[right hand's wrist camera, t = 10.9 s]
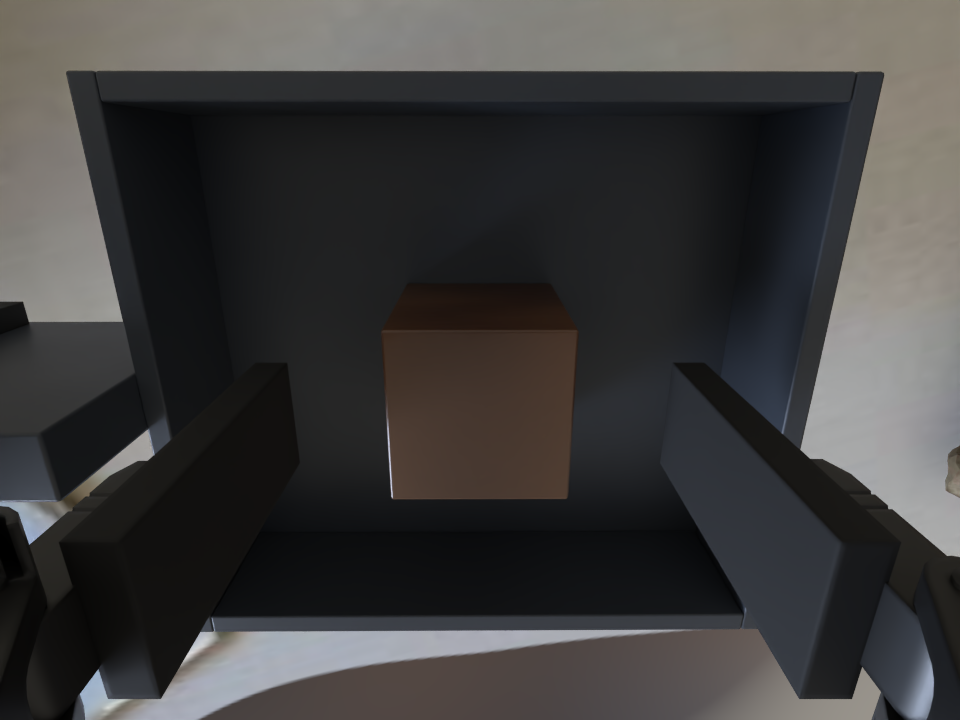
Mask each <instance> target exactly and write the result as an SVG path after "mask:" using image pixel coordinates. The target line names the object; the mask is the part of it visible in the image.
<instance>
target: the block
mask: <svg viewBox="0 0 960 720" xmlns="http://www.w3.org/2000/svg"><path fill="white" fill-rule="evenodd" d="M578 340H579V331H578V329H577V327H576V326H575V324H574V322H573V320H572V319H571V317H570V315H569V314H568V312H567V310H566V309H565V307H564V305H563V303H562V302H561V300H560V298H559V297H558V295H557V293H556V292H555V290H554V288H553V287H552V285H551V284H485V283H409V284H407V285H406V287H405V289H404V290H403V292H402V294H401V296H400V298H399V300H398V301H397V303H396V305H395V307H394V309H393V310H392V312H391V314H390V316H389V318H388V319H387V321H386V323H385V325H384V327H383V329H382V330H381V343H382V359H383V375H384V391H385V407H386V423H387V439H388V455H389V471H390V487H391V497H392V499H567V498H568V492H569V477H570V462H571V446H572V431H573V416H574V401H575V385H576V370H577V355H578Z"/></svg>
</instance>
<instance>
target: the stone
mask: <svg viewBox="0 0 960 720" xmlns="http://www.w3.org/2000/svg"><path fill="white" fill-rule="evenodd" d="M945 482H946V491H948V492H949V493H952V494H954V495H955V496H957V497H959V498H960V446H959V447H957V448H955V449H953V450H952V451H951V452H950V453H949V454H948V475H947V478H946V480H945Z"/></svg>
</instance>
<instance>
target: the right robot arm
mask: <svg viewBox="0 0 960 720" xmlns="http://www.w3.org/2000/svg"><path fill="white" fill-rule="evenodd" d="M299 464H300V459H299V451H298V443H297V435H296V427H295V419H294V411H293V404H292V396H291V388H290V380H289V372H288V364H287V363H255V364H253V365H252V366H251V367H250V368H249V369H248V370H247V371H246V372H245V373H244V374H242V375H241V376H240V377H239V378H238V379H237V380H236V381H235V382H234V383H233V384H232V385H230V386H229V387H228V388H227V389H226V390H225V391H224V392H223V393H222V394H221V395H219V396H218V397H217V398H216V399H215V400H214V401H213V402H212V403H211V404H210V405H209V406H207V407H206V408H205V409H204V410H203V411H202V412H201V413H200V414H199V415H198V416H196V417H195V418H194V419H193V420H192V421H191V422H190V423H189V424H188V425H187V426H185V427H184V428H183V429H182V430H181V431H180V432H179V433H178V434H177V435H176V436H175V437H173V438H172V439H171V440H170V441H169V442H168V443H167V444H166V445H165V446H164V447H162V448H161V449H160V450H159V451H158V452H157V453H156V454H155V455H154V456H153V457H152V458H150V459H149V460H148V461H137V462H135V463H133V464H131V465H130V466H128V467H126V468H124V469H122V470H120V471H118V472H116V473H114V474H112V475H111V476H109V477H108V478H107V479H106V480H104V481H103V482H102V483H101V484H100V485H99V486H97V487H96V488H95V489H94V490H93V491H92V492H91V493H90V496H89V497H85V498H84V499H82V500H81V501H80V502H79V503H78V504H77V505H75V506H74V507H73V511H72V512H67V513H66V514H65V515H64V516H63V517H61V518H60V519H59V520H58V521H57V522H56V523H54V524H53V525H52V526H51V527H50V528H49V529H47V530H46V531H45V532H44V533H43V534H42V535H40V536H39V537H38V538H37V539H36V540H35V541H33V542H32V543H31V544H30V545H29V543H28V540H27V537H26V534H25V531H24V528H23V525H22V523H21V520H20V517H19V514H18V512H16V511H15V510H13V509H11V508H9V507H3V506H0V720H85V713H84V706H83V703H82V700H81V697H80V693H81V691H82V690H83V689H84V687H85V686H86V685H87V683H88V682H89V681H90V679H91V678H92V677H93V675H94V674H95V673H96V671H97V670H98V669H99V672H100V675H101V678H102V681H103V684H104V688H105V691H106V694H107V697H108V699H161V698H162V696H163V694H164V693H165V691H166V689H167V687H168V686H169V684H170V682H171V681H172V679H173V677H174V676H175V674H176V672H177V671H178V669H179V667H180V665H181V664H182V662H183V660H184V659H185V657H186V655H187V654H188V652H189V650H190V648H191V647H192V645H193V643H194V642H195V640H196V638H197V637H198V635H199V633H200V632H201V630H202V628H203V626H204V625H205V623H206V621H207V620H208V618H209V616H210V615H211V613H212V611H213V609H214V608H215V606H216V604H217V603H218V601H219V599H220V598H221V596H222V594H223V593H224V591H225V589H226V587H227V586H228V584H229V582H230V581H231V579H232V577H233V576H234V574H235V572H236V571H237V569H238V567H239V565H240V564H241V562H242V560H243V559H244V557H245V555H246V554H247V552H248V550H249V548H250V547H251V545H252V543H253V542H254V540H255V538H256V537H257V535H258V533H259V532H260V530H261V528H262V526H263V525H264V523H265V521H266V520H267V518H268V516H269V515H270V513H271V511H272V509H273V508H274V506H275V504H276V503H277V501H278V499H279V498H280V496H281V494H282V493H283V491H284V489H285V487H286V486H287V484H288V482H289V481H290V479H291V477H292V476H293V474H294V472H295V471H296V469H297V467H298V465H299ZM660 464H661V465H662V467H663V469H664V470H665V472H666V474H667V476H668V477H669V479H670V481H671V482H672V484H673V486H674V487H675V489H676V491H677V493H678V494H679V496H680V498H681V499H682V501H683V503H684V504H685V506H686V508H687V509H688V511H689V513H690V515H691V516H692V518H693V520H694V521H695V523H696V525H697V526H698V528H699V530H700V532H701V533H702V535H703V537H704V538H705V540H706V542H707V543H708V545H709V547H710V548H711V550H712V552H713V554H714V555H715V557H716V559H717V560H718V562H719V564H720V565H721V567H722V569H723V570H724V572H725V574H726V576H727V577H728V579H729V581H730V582H731V584H732V586H733V587H734V589H735V591H736V593H737V594H738V596H739V598H740V599H741V601H742V603H743V604H744V606H745V608H746V609H747V611H748V613H749V615H750V616H751V618H752V620H753V621H754V623H755V625H756V626H757V628H758V630H759V632H760V633H761V635H762V637H763V638H764V640H765V642H766V643H767V645H768V647H769V648H770V650H771V652H772V654H773V655H774V657H775V659H776V660H777V662H778V664H779V665H780V667H781V669H782V670H783V672H784V674H785V676H786V677H787V679H788V681H789V682H790V684H791V686H792V687H793V689H794V691H795V693H796V694H797V696H798V698H799V699H852V697H853V694H854V691H855V688H856V684H857V681H858V678H859V675H860V672H861V669H862V667H863V668H864V670H865V671H866V672H867V674H868V675H869V676H870V678H871V679H872V680H873V682H874V683H875V684H876V686H877V687H878V688H879V690H880V691H881V694H880V697H879V700H878V703H877V706H876V709H875V712H874V715H873V717H872V720H960V557H956V556H946V555H945V554H944V553H943V552H942V551H941V550H939V549H938V548H937V547H936V546H935V545H933V544H932V543H931V542H930V541H929V540H928V539H926V538H925V537H924V536H923V535H922V534H921V533H919V532H918V531H917V530H916V529H915V528H914V527H912V526H911V525H910V524H909V523H908V522H907V521H905V520H904V519H903V518H902V517H901V516H899V515H898V514H897V513H896V512H895V511H894V510H892V509H888V505H887V504H885V503H884V502H883V501H882V500H881V499H880V498H878V497H877V496H876V495H871V491H870V490H869V489H868V488H867V487H865V486H864V485H863V484H862V483H861V482H860V481H858V480H857V479H856V478H855V477H854V476H853V475H851V474H850V473H848V472H846V471H844V470H842V469H840V468H838V467H837V466H835V465H833V464H831V463H829V462H827V461H825V460H823V459H810V458H809V457H807V456H806V455H805V454H804V453H803V452H802V451H801V450H800V449H799V448H798V447H796V446H795V445H794V444H793V443H792V442H791V441H790V440H789V439H788V438H787V437H785V436H784V435H783V434H782V433H781V432H780V431H779V430H778V429H777V428H776V427H775V426H773V425H772V424H771V423H770V422H769V421H768V420H767V419H766V418H765V417H764V416H762V415H761V414H760V413H759V412H758V411H757V410H756V409H755V408H754V407H753V406H752V405H750V404H749V403H748V402H747V401H746V400H745V399H744V398H743V397H742V396H741V395H739V394H738V393H737V392H736V391H735V390H734V389H733V388H732V387H731V386H730V385H728V384H727V383H726V382H725V381H724V380H723V379H722V378H721V377H720V376H719V375H718V374H716V373H715V372H714V371H713V370H712V369H711V368H710V367H709V366H708V365H707V364H705V363H673V364H672V372H671V380H670V388H669V396H668V404H667V411H666V419H665V427H664V435H663V443H662V451H661V459H660Z"/></svg>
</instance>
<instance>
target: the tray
mask: <svg viewBox="0 0 960 720" xmlns="http://www.w3.org/2000/svg"><path fill="white" fill-rule="evenodd" d="M66 74H67V79H68V83H69V88H70V92H71V96H72V101H73V105H74V109H75V114H76V118H77V122H78V127H79V131H80V135H81V140H82V144H83V149H84V153H85V157H86V162H87V166H88V170H89V175H90V179H91V183H92V188H93V192H94V196H95V201H96V205H97V210H98V214H99V218H100V223H101V227H102V231H103V236H104V240H105V244H106V249H107V253H108V258H109V262H110V266H111V271H112V275H113V279H114V284H115V288H116V292H117V297H118V301H119V305H120V310H121V314H122V319H123V322H29V324H27V325H24V326H22V327H19V328H16V329H14V330H11V331H8V332H5V333H3V334H0V502H58V501H61V500H63V499H64V498H65V497H66V496H68V495H69V494H70V493H71V492H72V491H74V490H75V489H76V488H77V487H78V486H80V485H81V484H82V483H83V482H85V481H86V480H87V479H88V478H89V477H91V476H92V475H93V474H94V473H95V472H97V471H98V470H99V469H100V468H101V467H103V466H104V465H105V464H106V463H108V462H109V461H110V460H111V459H112V458H114V457H115V456H116V455H117V454H118V453H120V452H121V451H122V450H123V449H124V448H126V447H127V446H128V445H129V444H131V443H132V442H133V441H134V440H135V439H137V438H138V437H139V436H140V435H141V434H143V433H144V432H145V431H146V430H147V429H148V432H149V436H150V441H151V445H152V449H153V454H154V455H155V454H156V453H157V452H158V451H159V450H160V449H161V448H162V447H164V446H165V445H166V444H167V443H168V442H169V441H170V440H171V439H172V438H173V437H175V436H176V435H177V434H178V433H179V432H180V431H181V430H182V429H183V428H184V427H185V426H187V425H188V424H189V423H190V422H191V421H192V420H193V419H194V418H195V417H196V416H198V415H199V414H200V413H201V412H202V411H203V410H204V409H205V408H206V407H207V406H209V405H210V404H211V403H212V402H213V401H214V400H215V399H216V398H217V397H218V396H219V395H221V394H222V393H223V392H224V391H225V390H226V389H227V388H228V387H229V386H230V385H232V384H233V383H234V382H235V381H236V380H237V379H238V378H239V377H240V376H241V375H242V374H244V373H245V372H246V371H247V370H248V369H249V368H250V367H251V366H252V365H253V364H255V363H287V364H288V372H289V380H290V388H291V396H292V404H293V411H294V419H295V427H296V435H297V443H298V451H299V459H300V464H299V465H298V467H297V469H296V471H295V472H294V474H293V476H292V477H291V479H290V481H289V482H288V484H287V486H286V487H285V489H284V491H283V493H282V494H281V496H280V498H279V499H278V501H277V503H276V504H275V506H274V508H273V509H272V511H271V513H270V515H269V516H268V518H267V520H266V521H265V523H264V525H263V526H262V528H261V530H260V532H259V533H258V535H257V537H256V538H255V540H254V542H253V543H252V545H251V547H250V548H249V550H248V552H247V554H246V555H245V557H244V559H243V560H242V562H241V564H240V565H239V567H238V569H237V571H236V572H235V574H234V576H233V577H232V579H231V581H230V582H229V584H228V586H227V587H226V589H225V591H224V593H223V594H222V596H221V598H220V599H219V601H218V603H217V604H216V606H215V608H214V609H213V611H212V613H211V615H210V616H209V618H208V620H207V621H206V623H205V625H204V626H203V628H202V630H201V632H213V631H216V632H234V631H449V630H664V629H740V628H742V629H758V628H757V626H756V625H755V623H754V621H753V620H752V618H751V616H750V615H749V613H748V611H747V609H746V608H745V606H744V604H743V603H742V601H741V599H740V598H739V596H738V594H737V593H736V591H735V589H734V587H733V586H732V584H731V582H730V581H729V579H728V577H727V576H726V574H725V572H724V570H723V569H722V567H721V565H720V564H719V562H718V560H717V559H716V557H715V555H714V554H713V552H712V550H711V548H710V547H709V545H708V543H707V542H706V540H705V538H704V537H703V535H702V533H701V532H700V530H699V528H698V526H697V525H696V523H695V521H694V520H693V518H692V516H691V515H690V513H689V511H688V509H687V508H686V506H685V504H684V503H683V501H682V499H681V498H680V496H679V494H678V493H677V491H676V489H675V487H674V486H673V484H672V482H671V481H670V479H669V477H668V476H667V474H666V472H665V470H664V469H663V467H662V465H661V464H660V459H661V451H662V443H663V435H664V427H665V419H666V411H667V404H668V396H669V388H670V380H671V372H672V364H673V363H705V364H707V365H708V366H709V367H710V368H711V369H712V370H713V371H714V372H715V373H716V374H718V375H719V376H720V377H721V378H722V379H723V380H724V381H725V382H726V383H727V384H728V385H730V386H731V387H732V388H733V389H734V390H735V391H736V392H737V393H738V394H739V395H741V396H742V397H743V398H744V399H745V400H746V401H747V402H748V403H749V404H750V405H752V406H753V407H754V408H755V409H756V410H757V411H758V412H759V413H760V414H761V415H762V416H764V417H765V418H766V419H767V420H768V421H769V422H770V423H771V424H772V425H773V426H775V427H776V428H777V429H778V430H779V431H780V432H781V433H782V434H783V435H784V436H785V437H787V438H788V439H789V440H790V441H791V442H792V443H793V444H794V445H795V446H796V447H798V448H799V449H800V448H801V444H802V439H803V435H804V430H805V426H806V421H807V417H808V412H809V408H810V404H811V399H812V395H813V390H814V386H815V381H816V377H817V372H818V368H819V363H820V359H821V355H822V350H823V346H824V341H825V337H826V332H827V328H828V323H829V319H830V314H831V310H832V306H833V301H834V297H835V292H836V288H837V283H838V279H839V274H840V270H841V265H842V261H843V256H844V252H845V248H846V243H847V239H848V234H849V230H850V225H851V221H852V216H853V212H854V207H855V203H856V199H857V194H858V190H859V185H860V181H861V176H862V172H863V167H864V163H865V158H866V154H867V150H868V145H869V141H870V136H871V132H872V127H873V123H874V118H875V114H876V109H877V105H878V101H879V96H880V92H881V87H882V83H883V78H884V73H883V72H856V73H855V72H779V71H97V72H95V71H67V72H66ZM409 283H485V284H551V285H552V287H553V288H554V290H555V292H556V293H557V295H558V297H559V298H560V300H561V302H562V303H563V305H564V307H565V309H566V310H567V312H568V314H569V315H570V317H571V319H572V320H573V322H574V324H575V326H576V327H577V329H578V331H579V340H578V355H577V370H576V385H575V401H574V416H573V431H572V446H571V462H570V477H569V492H568V498H567V499H392V497H391V487H390V471H389V455H388V439H387V423H386V407H385V391H384V375H383V359H382V343H381V330H382V329H383V327H384V325H385V323H386V321H387V319H388V318H389V316H390V314H391V312H392V310H393V309H394V307H395V305H396V303H397V301H398V300H399V298H400V296H401V294H402V292H403V290H404V289H405V287H406V285H407V284H409Z"/></svg>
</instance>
